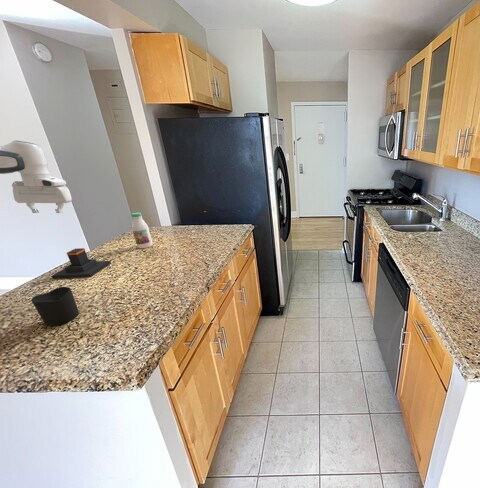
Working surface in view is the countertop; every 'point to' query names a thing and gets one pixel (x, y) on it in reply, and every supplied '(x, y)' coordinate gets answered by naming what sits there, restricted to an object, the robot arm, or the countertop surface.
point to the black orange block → (78, 257)
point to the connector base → (82, 269)
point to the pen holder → (56, 306)
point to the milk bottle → (141, 231)
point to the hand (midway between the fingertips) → (48, 212)
